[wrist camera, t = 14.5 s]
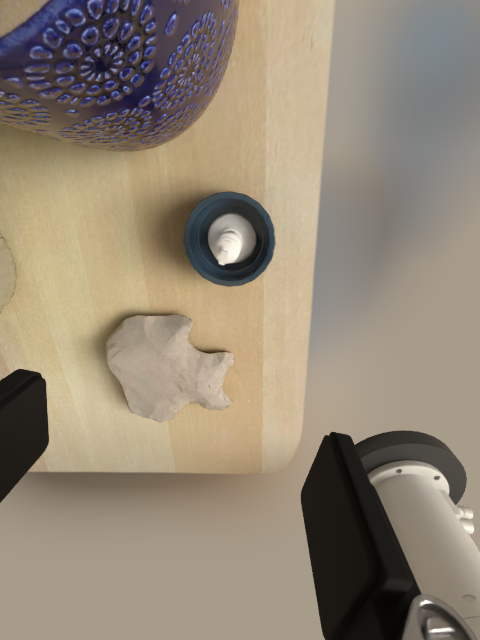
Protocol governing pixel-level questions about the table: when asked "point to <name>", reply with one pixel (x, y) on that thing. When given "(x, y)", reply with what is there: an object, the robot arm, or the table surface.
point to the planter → (112, 68)
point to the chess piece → (232, 238)
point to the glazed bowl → (199, 244)
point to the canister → (6, 274)
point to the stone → (165, 367)
